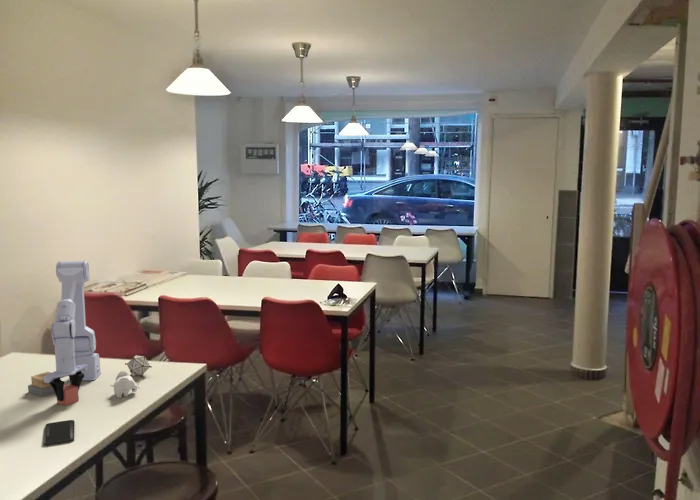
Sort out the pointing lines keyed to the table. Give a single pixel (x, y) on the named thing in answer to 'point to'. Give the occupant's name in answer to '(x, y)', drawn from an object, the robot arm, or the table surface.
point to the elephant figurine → (124, 385)
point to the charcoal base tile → (40, 390)
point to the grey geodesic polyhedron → (138, 365)
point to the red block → (69, 395)
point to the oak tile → (40, 380)
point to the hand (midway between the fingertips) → (67, 397)
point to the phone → (59, 433)
